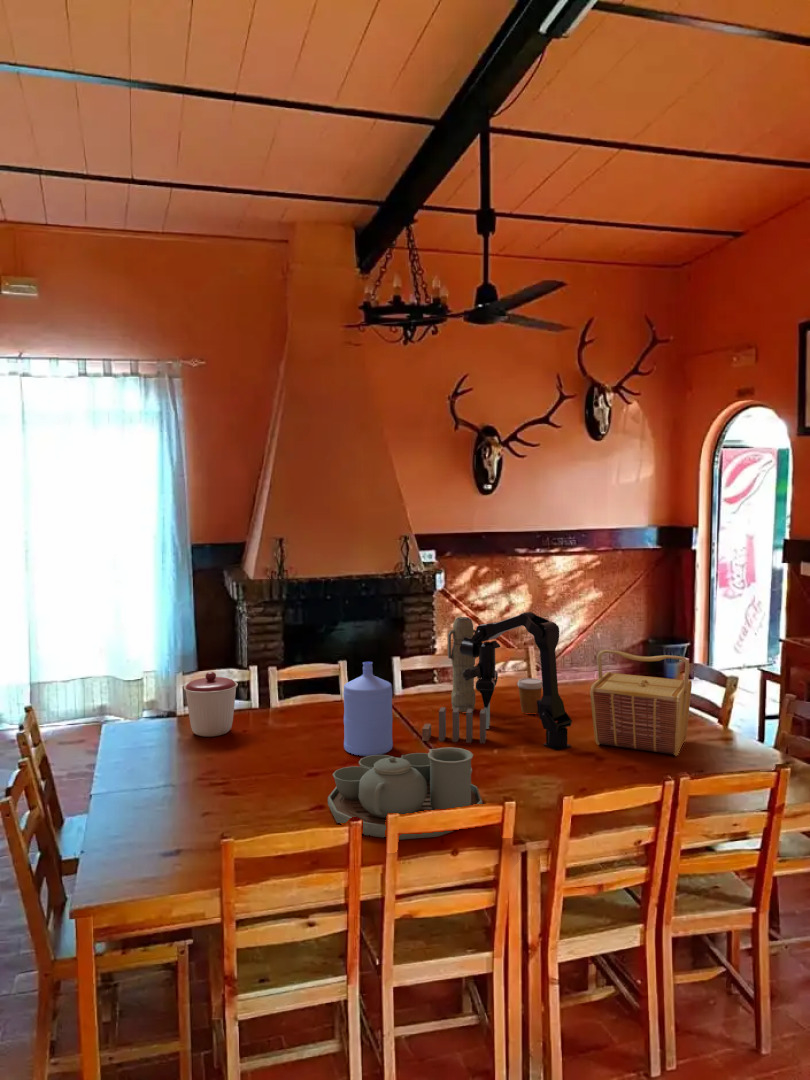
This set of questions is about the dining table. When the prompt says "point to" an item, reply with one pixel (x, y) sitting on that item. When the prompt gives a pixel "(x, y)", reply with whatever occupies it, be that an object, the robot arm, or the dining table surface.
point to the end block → (426, 732)
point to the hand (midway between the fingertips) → (487, 703)
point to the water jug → (368, 714)
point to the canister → (211, 704)
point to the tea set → (403, 788)
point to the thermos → (461, 665)
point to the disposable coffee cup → (529, 694)
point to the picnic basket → (641, 708)
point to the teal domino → (487, 716)
